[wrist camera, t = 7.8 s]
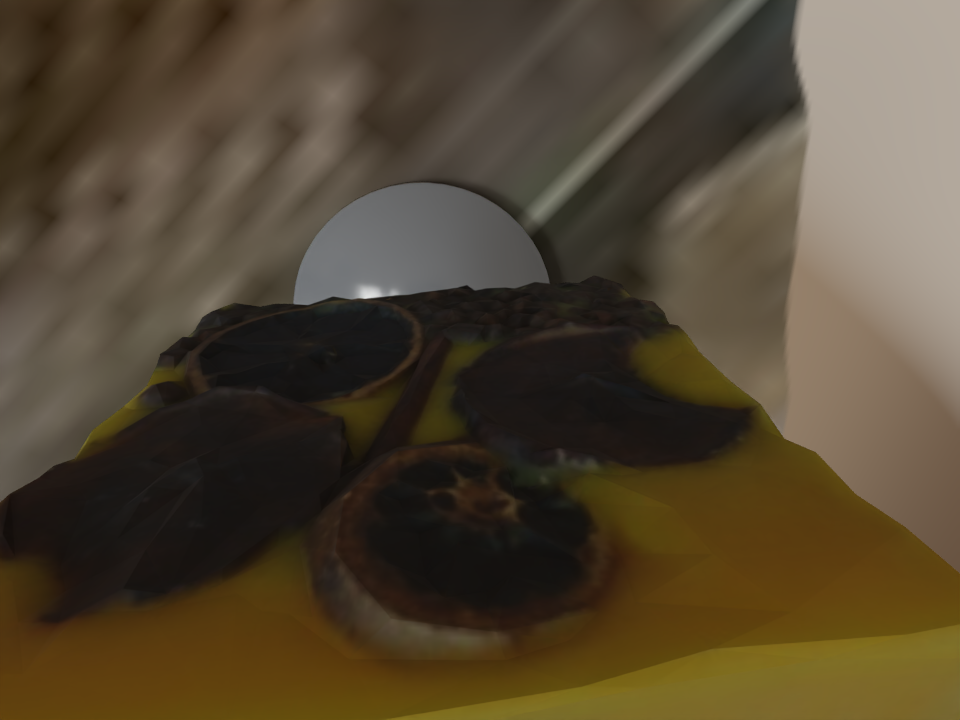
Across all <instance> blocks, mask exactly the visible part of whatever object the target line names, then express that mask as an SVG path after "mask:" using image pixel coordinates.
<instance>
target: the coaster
mask: <svg viewBox="0 0 960 720" xmlns="http://www.w3.org/2000/svg"><path fill="white" fill-rule="evenodd" d="M533 282H540V283H549V284H550V282H549V278H548V274H547V270H546V268H545V265H544V262H543V260H542V257H541V255H540V253H539V252H538V250H537V248H536V246H535V244H534V243H533V241H532V240H531V238H530V237H529V236H528V234H527V233H526V232H525V230H524V229H523V228H522V227H521V226H520V225H519V224H518V223H517V222H516V221H515V220H514V219H513V218H512V217H511V216H510V215H509V214H508V213H507V212H506V211H504V210H503V209H502V208H500V207H499V206H498V205H496V204H495V203H494V202H492V201H490V200H488V199H486V198H485V197H483V196H481V195H479V194H477V193H474V192H472V191H469V190H467V189H464V188H461V187H457V186H453V185H449V184H444V183H434V182H407V183H402V184H396V185H390V186H387V187H384V188H381V189H378V190H375V191H372V192H370V193H368V194H366V195H364V196H362V197H359V198H357V199H356V200H354V201H353V202H351V203H350V204H348V205H347V206H345V207H344V208H342V209H341V210H340V211H339V212H338V213H337V214H336V215H334V216H333V217H332V218H331V219H330V220H329V221H328V222H327V223H326V225H325V226H324V227H323V228H322V229H321V231H320V232H319V233H318V234H317V235H316V237H315V238H314V240H313V242H312V243H311V245H310V247H309V248H308V250H307V251H306V254H305V256H304V258H303V261H302V263H301V266H300V268H299V272H298V276H297V280H296V284H295V293H294V304H300V305H310V304H313V303H316V302H319V301H322V300H324V299H327V298H330V297H333V296H334V297H340V298H345V299H351V300H352V299H357V298H363V299H367V298H376V297H385V296H395V295H410V294H415V293H420V292H428V291H436V290H444V289H451V288H458V287H461V286H465V285H468V286H469V287H471V288H472V289H473V290H475V291H476V290H481V289H485V288H504V287H506V288H514V289H515V288H518V287H521V286H524V285H527V284H530V283H533Z"/></svg>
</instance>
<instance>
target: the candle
mask: <svg viewBox="0 0 960 720" xmlns="http://www.w3.org/2000/svg"><path fill="white" fill-rule="evenodd" d="M0 720H960V574H959V572H957V571H956V570H955V569H954V568H953V567H952V566H950V565H949V564H948V563H947V562H946V561H944V560H943V559H942V558H941V557H940V556H939V555H937V554H936V553H935V552H934V551H932V549H930V548H929V547H928V546H927V545H926V544H924V543H923V542H922V541H921V540H920V539H919V538H917V537H916V536H915V535H914V534H913V533H912V532H910V531H909V530H908V529H907V528H906V527H904V526H903V525H901V524H900V523H898V522H897V521H895V520H894V519H892V518H891V517H889V516H888V515H886V514H885V513H883V512H882V511H880V510H879V509H877V508H876V507H874V506H873V505H871V504H870V503H868V502H866V501H865V500H864V499H862V498H861V497H859V496H857V495H856V494H855V493H854V492H853V491H852V490H851V489H850V488H849V487H848V486H847V485H846V484H845V483H844V481H843V480H842V479H841V478H840V477H839V476H838V475H837V474H836V473H835V472H834V471H833V470H832V469H831V468H830V467H829V466H828V465H827V464H826V463H825V461H824V460H822V458H821V457H820V456H819V455H818V454H817V453H816V452H814V451H811V450H809V449H807V448H804V447H802V446H800V445H797V444H795V443H793V442H790V441H788V440H786V439H784V438H783V436H782V435H781V433H780V432H779V430H778V429H777V427H776V426H775V425H774V423H773V422H772V420H771V419H770V417H769V416H768V414H767V413H766V412H765V410H764V409H763V407H762V406H761V404H759V403H758V402H757V401H755V400H754V399H753V398H752V397H750V396H749V395H748V394H746V393H745V392H744V391H742V390H741V389H740V388H738V387H737V386H736V385H735V384H733V383H732V382H731V381H730V380H729V379H727V378H726V377H725V376H724V375H723V374H722V373H721V372H720V371H719V370H718V369H717V368H716V367H715V366H714V365H713V364H712V363H711V362H709V361H708V360H707V359H706V358H705V357H704V356H703V355H702V354H701V353H700V352H699V351H698V349H697V348H696V346H695V345H694V344H693V342H692V341H691V339H690V338H689V337H688V335H687V334H686V333H685V332H684V331H683V330H682V329H681V328H680V327H679V326H677V325H670V324H669V323H668V321H667V318H666V316H665V313H664V312H663V311H662V310H661V309H660V308H659V307H658V306H657V305H656V304H655V303H654V302H653V301H645V300H638V299H635V298H633V297H631V296H630V295H629V294H628V293H627V292H626V291H625V289H624V288H623V286H622V285H621V284H619V283H616V282H613V281H610V280H607V279H604V278H600V277H597V276H592V277H590V278H588V279H586V280H584V281H582V282H580V283H560V284H549V283H540V282H533V283H530V284H527V285H524V286H521V287H518V288H515V289H514V288H506V287H504V288H485V289H481V290H476V291H475V290H473V289H472V288H471V287H469V286H468V285H465V286H461V287H458V288H451V289H444V290H436V291H428V292H420V293H415V294H410V295H395V296H385V297H376V298H367V299H363V298H357V299H352V300H351V299H345V298H340V297H334V296H333V297H330V298H327V299H324V300H322V301H319V302H316V303H313V304H310V305H300V304H272V305H267V306H262V307H258V306H251V305H244V304H237V303H233V304H231V305H228V306H225V307H223V308H220V309H218V310H215V311H212V312H210V313H209V314H207V315H206V316H204V317H203V318H202V319H201V321H200V323H199V324H198V326H197V328H196V330H195V331H194V332H193V333H192V334H191V335H190V336H189V337H182V338H181V339H180V340H179V341H177V342H176V343H175V344H174V345H172V346H171V347H170V348H169V349H167V350H166V351H165V352H163V353H161V354H160V357H159V360H158V364H157V367H156V368H155V370H154V372H153V374H152V377H151V379H150V381H149V383H148V385H147V386H146V387H145V388H144V389H143V390H142V391H141V392H140V393H138V394H137V395H136V396H135V397H134V398H133V399H132V400H131V401H129V402H128V403H127V404H126V405H125V406H124V407H123V408H121V409H120V410H119V411H117V412H116V413H115V414H113V415H112V416H111V417H109V418H108V419H107V420H105V421H104V422H103V423H102V424H100V425H99V426H98V427H96V428H95V429H94V430H92V432H91V434H90V435H89V437H88V438H87V440H86V441H85V443H84V445H83V446H82V448H81V449H80V451H79V453H78V454H77V456H76V457H75V459H73V460H70V461H67V462H64V463H61V464H58V465H55V466H53V467H52V468H50V469H49V470H48V471H47V472H46V473H44V474H43V475H42V476H41V477H40V478H38V479H36V480H34V481H33V482H31V483H29V484H27V485H25V486H23V487H22V488H20V489H18V490H16V491H14V492H13V493H11V494H9V495H8V496H7V497H6V498H5V499H4V500H3V501H1V502H0Z"/></svg>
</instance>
